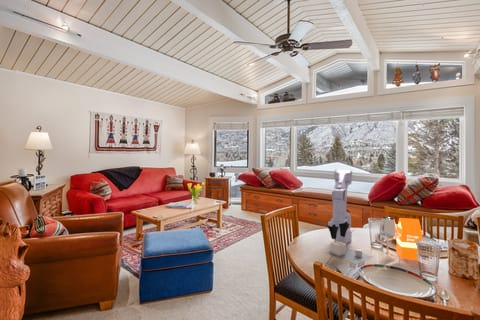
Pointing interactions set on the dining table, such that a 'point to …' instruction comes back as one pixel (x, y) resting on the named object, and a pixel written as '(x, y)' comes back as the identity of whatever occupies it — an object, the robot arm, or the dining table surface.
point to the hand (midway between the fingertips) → (338, 237)
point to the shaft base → (353, 256)
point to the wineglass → (388, 230)
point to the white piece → (338, 248)
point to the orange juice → (408, 238)
